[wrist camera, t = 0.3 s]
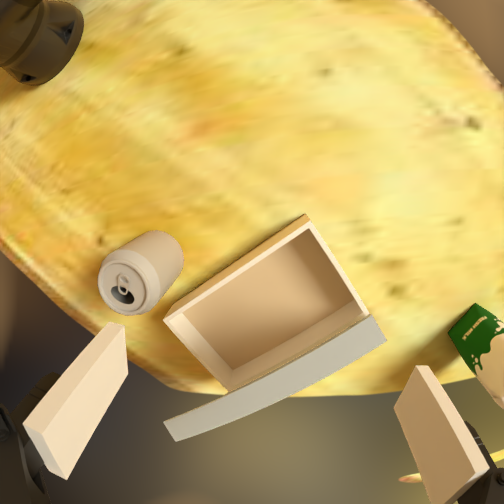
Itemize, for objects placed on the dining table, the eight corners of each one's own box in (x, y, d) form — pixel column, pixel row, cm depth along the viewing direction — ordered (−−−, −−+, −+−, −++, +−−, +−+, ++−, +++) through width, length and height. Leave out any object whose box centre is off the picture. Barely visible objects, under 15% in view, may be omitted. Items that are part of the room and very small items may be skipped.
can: (130, 269, 41) (87, 304, 30) (142, 221, 39) (97, 242, 28) (177, 289, 42) (146, 332, 30) (192, 240, 40) (162, 271, 28)
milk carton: (476, 295, 39) (551, 357, 20) (493, 324, 41) (556, 385, 21) (441, 333, 42) (503, 410, 22) (460, 358, 43) (514, 430, 24)
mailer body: (173, 303, 42) (162, 320, 38) (305, 213, 38) (310, 220, 33) (232, 371, 45) (229, 391, 40) (359, 297, 40) (369, 313, 36)
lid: (163, 422, 26) (175, 441, 25) (371, 315, 22) (387, 340, 21) (220, 382, 40) (229, 396, 40) (362, 301, 36) (371, 317, 35)
